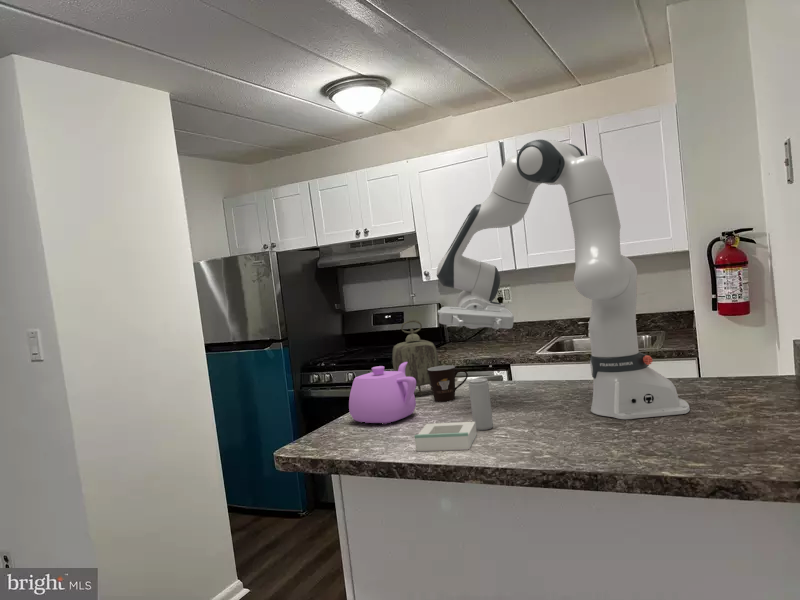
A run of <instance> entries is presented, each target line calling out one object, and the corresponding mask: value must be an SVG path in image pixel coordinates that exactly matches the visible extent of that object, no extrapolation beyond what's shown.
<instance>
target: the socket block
mask: <svg viewBox="0 0 800 600" xmlns="http://www.w3.org/2000/svg"><path fill="white" fill-rule="evenodd" d="M477 434H478V433H477V430H476V423H475V422H473V421H462V422H440V423H426V424H425V425H424V426H423V427H422V428H421V430H420V431H419V432H418V434H415V435H414V443H415V451H416V452H437V451H438V452H439V451H442V452H443V451H469V450H470V449H471V447H472V445H473V442H474V441H475V438H476V436H477ZM468 449H469V450H468Z"/></svg>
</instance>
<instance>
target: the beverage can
mask: <svg viewBox="0 0 800 600" xmlns="http://www.w3.org/2000/svg"><path fill="white" fill-rule="evenodd" d="M468 389H469V390H468V391H469V398H470V399H469V401H470V407H471V408H470V409H471V416H472V417H471V418H472V422H475V423H476V431H487V430H488V431H489V430H491V429H492V428H493V427H494V421H493V411H492V405H491V394H490V393H491V392H490V386H489V381H488V378H487V377H486V378H483V377H479V378H478V377H477V378H472V379H469V380H468Z"/></svg>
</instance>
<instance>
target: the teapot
mask: <svg viewBox="0 0 800 600" xmlns="http://www.w3.org/2000/svg"><path fill="white" fill-rule="evenodd" d="M407 363H408V362H404V363H402V364H401V365H400V366H399V369H398V371H394V370H385V366H383V365H379V366H373V367H371V372H368V373H364V374H361V375H358V376H355V378H353V382H352V386H351V389H350V393H349V398H348V399H349V400H348V409H349V410H348V411H349V415H350V416H351V417H352V419H353V420H354V421H355V422H359V423H362V422H365V423H364V424H369V423H371V424H381V423H383V424H382V425H388V424H387V423H390V424H392V423H393V422H396V421H400V420H401V419H404V418H407V417H409V416H411V415H412V414H413V413H414V411H415V409H416V406H417V405H416V403H417V402H416V397H415V391H416V388H417V386H416V379H415V378H414V377H406V375H405V368H406V365H407ZM391 422H392V423H391Z"/></svg>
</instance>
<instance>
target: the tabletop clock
mask: <svg viewBox="0 0 800 600" xmlns="http://www.w3.org/2000/svg"><path fill="white" fill-rule="evenodd" d="M409 323H417V324H418V325H420V327H419V328H418V329H415V330H414V328H410V330H408V331H407V330H404V326H405V325H406V324H409ZM422 327H423V325H422V323H421V322H420V321H418V320H416V319H415V320H414V319H412V320H407V321H404V322H403V323H401V327H400V330H401V331H402V332H404V333H405V334H408V335H407V336H406V338H405V341H403V342H399V343H397V344H395V345H393V348H392V355H391V356H392V358H391V359H392V366H393V371H398V369H399V366H400V365H401V364H402V363H404V362H408V363H407V365H406V368H405V375H406V377H414V378H415V379H416V387H418V392H417V395H418V396H419V397H422V396H423V391H422V390H421V387H422V386H426V385H429V386H430V390H431V391H432V387H431V383H430V378H429V374H428V369H429V368H432V367H437V366H440V363H439V361H440V360H439V356H438V355H439V354H438V351H437V347H436V346H435V344H434V343H433V342H432V341H429V340H425V339H422V338H421V337H420V335H418V334H417V333H418V332H419V331H421V329H422Z"/></svg>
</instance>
